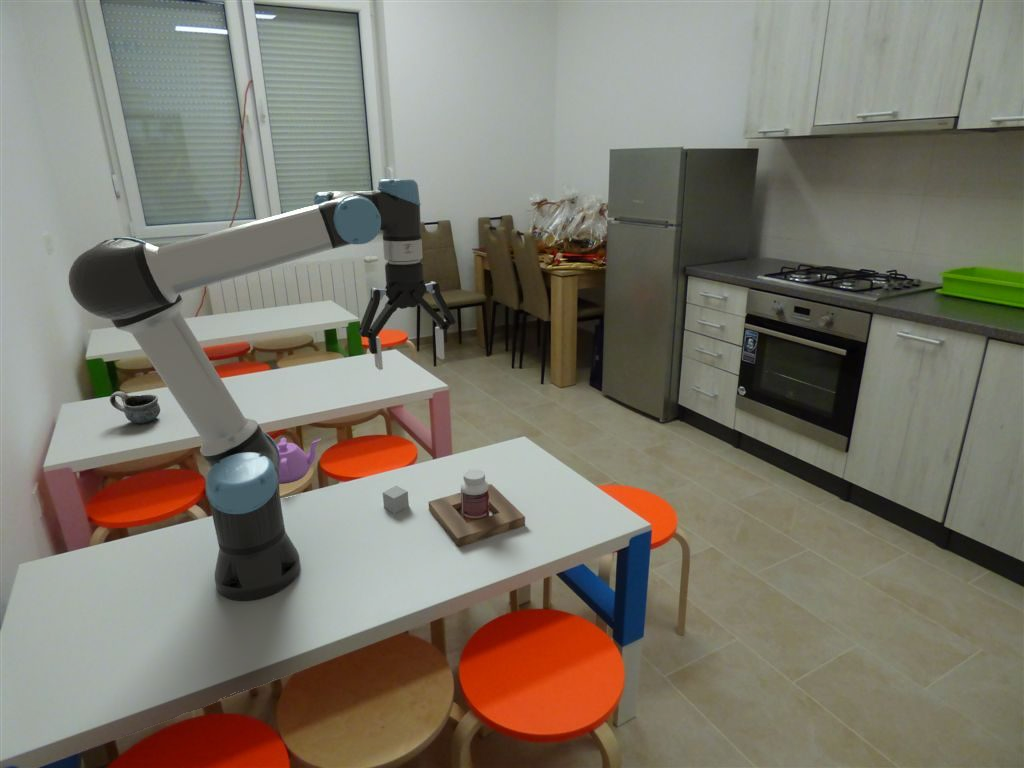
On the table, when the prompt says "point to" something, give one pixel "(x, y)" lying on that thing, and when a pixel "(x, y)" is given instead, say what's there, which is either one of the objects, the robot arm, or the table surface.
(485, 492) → the pill bottle
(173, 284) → the robot arm
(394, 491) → the grey eraser block
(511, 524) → the socket board
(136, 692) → the table surface
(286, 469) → the teapot
